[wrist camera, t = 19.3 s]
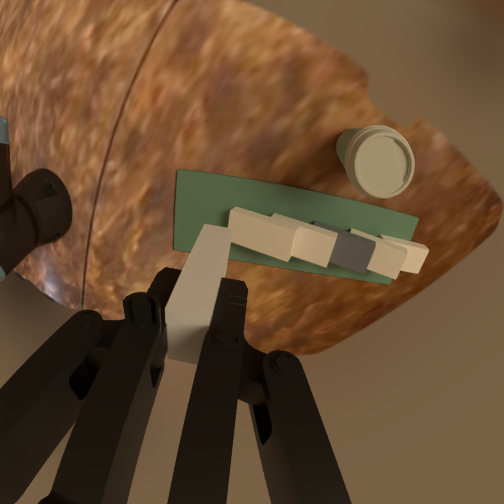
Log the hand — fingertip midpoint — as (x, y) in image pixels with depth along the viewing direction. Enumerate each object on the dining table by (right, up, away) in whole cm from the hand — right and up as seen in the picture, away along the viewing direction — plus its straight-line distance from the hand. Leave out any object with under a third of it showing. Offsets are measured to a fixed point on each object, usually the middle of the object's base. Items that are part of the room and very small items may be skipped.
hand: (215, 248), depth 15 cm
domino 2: (+5, +3, +27) cm, 28 cm away
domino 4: (+23, 0, +28) cm, 36 cm away
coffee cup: (+17, +15, +22) cm, 31 cm away
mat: (+9, +3, +29) cm, 30 cm away
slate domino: (+11, +2, +28) cm, 30 cm away
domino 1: (-1, +4, +27) cm, 28 cm away
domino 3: (+17, +1, +28) cm, 33 cm away
